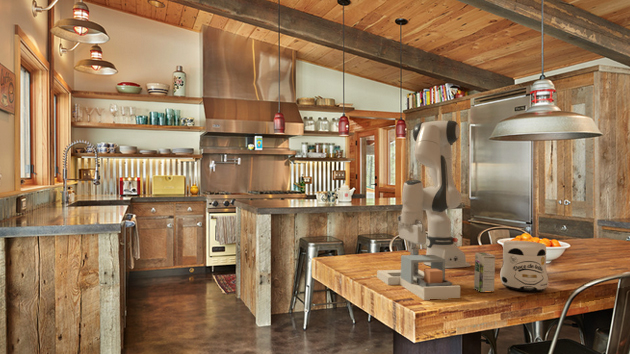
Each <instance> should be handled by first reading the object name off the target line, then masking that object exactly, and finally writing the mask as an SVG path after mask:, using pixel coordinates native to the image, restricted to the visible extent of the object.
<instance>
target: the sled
mask: <svg viewBox="0 0 630 354" xmlns="http://www.w3.org/2000/svg"><path fill="white" fill-rule="evenodd" d="M419 251H420V250H419V248H416V247H415V248H410V252H409V253H410V254H409V255H420V253H419ZM418 269H419V263H414V276H415V277H416V278H417V284H419V285H420V286H422V287H434V286H453V282H452V281H450V280H447V279H446V278H445V279H444V278H443V282H438V283H427V282H426V281H424V276H422V275H420V274H419V273H418Z"/></svg>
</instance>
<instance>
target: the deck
mask: <svg viewBox="0 0 630 354" xmlns="http://www.w3.org/2000/svg"><path fill="white" fill-rule="evenodd" d="M418 273H419V274H420V275H422V276H424V270H421V269H419V268H418ZM376 278H377V279H378V280H380V281H382V282H383V283H384V284H386V285H387V286H389V285H390V286H391V285H392V286H395V285H397V286H398V285H400V286H401V287H403V288H405V290H407V291H409V292H410V293H412V294H413V295H415V296H417V297H418V298H419V299H421V300H423V301H431V300H430V299H441V300H449V299H448V298H460V299H461V286H460V285H452V286H434V287H422V286H420V285H419V284H417V278H416V277H415V276H414V278H413V284H410V283H409V282H407V281H405V280H404V279H402V278H401V269H385V270H384V269H383V270H382V269H381V270H380V269H379V270H376Z"/></svg>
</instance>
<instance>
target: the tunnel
mask: <svg viewBox="0 0 630 354" xmlns="http://www.w3.org/2000/svg"><path fill="white" fill-rule="evenodd" d="M425 262H431V266H430V269H433V268H437V269H439V270H441V271H443V278H444V279H446V268H445V259H443V258H440V257H438V256H435V255H426V254H419V255H410V254H404V255H403V254H402V255H401V256H400V270H401V278H402V279H404V280H405V281H407V282H409V283H410V284H413V278H414V263H418V264H421V263H423V264H424V263H425Z"/></svg>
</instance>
